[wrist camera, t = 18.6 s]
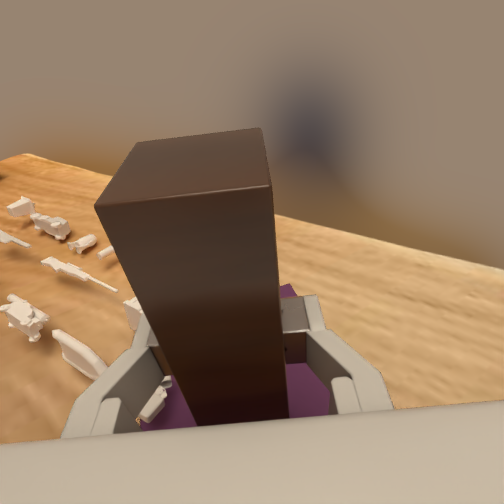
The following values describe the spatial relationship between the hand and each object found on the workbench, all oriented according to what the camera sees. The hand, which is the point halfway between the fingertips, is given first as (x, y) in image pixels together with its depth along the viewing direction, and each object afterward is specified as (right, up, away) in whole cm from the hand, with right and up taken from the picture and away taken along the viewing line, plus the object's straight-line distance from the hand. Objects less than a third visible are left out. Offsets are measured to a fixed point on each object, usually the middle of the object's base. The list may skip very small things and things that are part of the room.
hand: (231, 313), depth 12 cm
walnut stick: (+1, -7, +5) cm, 9 cm away
